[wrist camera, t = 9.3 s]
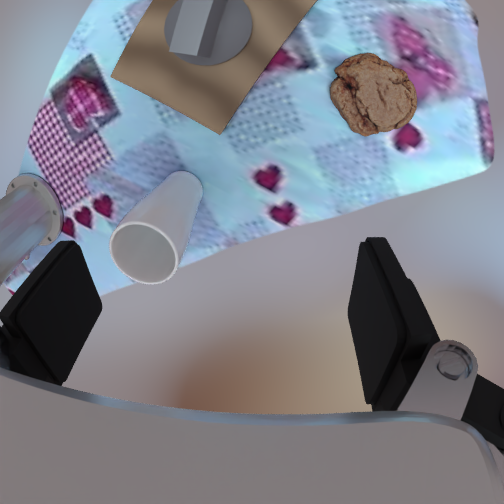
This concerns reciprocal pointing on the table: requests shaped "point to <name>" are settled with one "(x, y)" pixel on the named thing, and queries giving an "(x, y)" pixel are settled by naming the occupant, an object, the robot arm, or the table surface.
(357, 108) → the cookie
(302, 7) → the wooden board
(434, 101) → the table surface
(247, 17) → the tuning knob
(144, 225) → the drinking glass
